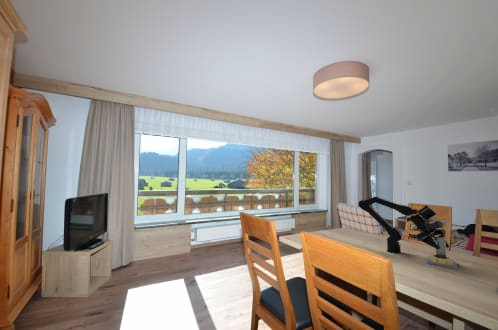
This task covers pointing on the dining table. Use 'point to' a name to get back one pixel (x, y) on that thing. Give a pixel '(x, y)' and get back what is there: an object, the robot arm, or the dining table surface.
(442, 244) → the shiny metal cylinder
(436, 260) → the nut plate
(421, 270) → the dining table surface
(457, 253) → the dining table surface
